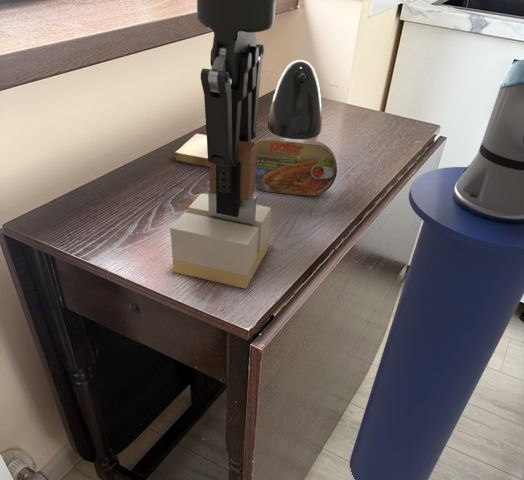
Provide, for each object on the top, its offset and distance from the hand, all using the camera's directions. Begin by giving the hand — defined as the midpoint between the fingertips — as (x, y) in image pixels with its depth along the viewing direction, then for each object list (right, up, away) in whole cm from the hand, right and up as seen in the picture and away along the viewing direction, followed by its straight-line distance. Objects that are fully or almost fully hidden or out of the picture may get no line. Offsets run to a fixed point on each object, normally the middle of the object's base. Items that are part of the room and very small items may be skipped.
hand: (231, 207), depth 63 cm
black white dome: (+10, +22, +36) cm, 43 cm away
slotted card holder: (-2, -6, +6) cm, 8 cm away
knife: (0, -4, +4) cm, 6 cm away
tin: (+8, +9, +22) cm, 26 cm away
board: (-5, +18, +31) cm, 36 cm away
